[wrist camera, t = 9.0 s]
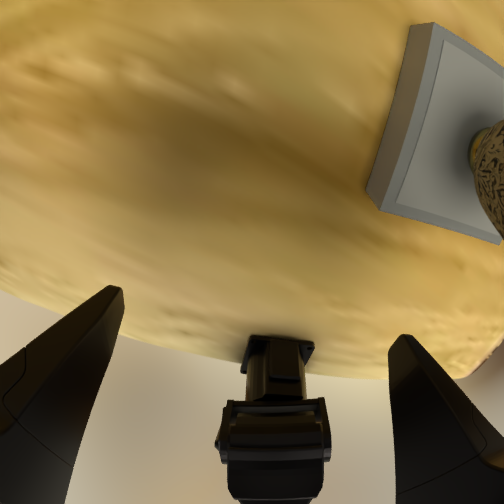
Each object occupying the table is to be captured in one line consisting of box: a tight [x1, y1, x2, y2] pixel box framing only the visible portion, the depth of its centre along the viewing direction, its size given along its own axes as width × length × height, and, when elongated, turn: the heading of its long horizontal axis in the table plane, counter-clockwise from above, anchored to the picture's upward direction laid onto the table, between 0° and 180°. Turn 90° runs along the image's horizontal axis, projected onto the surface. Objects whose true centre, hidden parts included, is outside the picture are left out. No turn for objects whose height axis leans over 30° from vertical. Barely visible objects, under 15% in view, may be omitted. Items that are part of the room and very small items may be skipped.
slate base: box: [365, 22, 504, 245], centre depth 15 cm, size 12×12×3 cm
